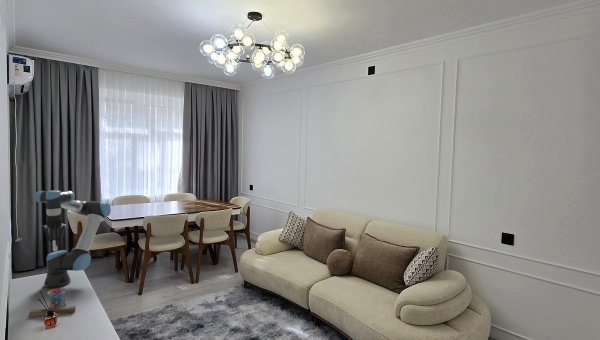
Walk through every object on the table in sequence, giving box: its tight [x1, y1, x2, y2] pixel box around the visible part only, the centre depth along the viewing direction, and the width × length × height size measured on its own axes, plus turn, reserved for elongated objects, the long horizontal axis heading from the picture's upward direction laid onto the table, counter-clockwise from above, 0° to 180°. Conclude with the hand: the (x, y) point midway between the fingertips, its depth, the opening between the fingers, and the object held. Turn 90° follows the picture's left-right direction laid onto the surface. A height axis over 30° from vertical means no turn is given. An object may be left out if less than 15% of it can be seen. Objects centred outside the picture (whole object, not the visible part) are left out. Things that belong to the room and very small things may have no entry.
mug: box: [47, 287, 72, 308], centre depth 199 cm, size 12×9×11 cm
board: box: [28, 305, 77, 318], centre depth 191 cm, size 3×22×3 cm, turn 106°
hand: (55, 250), depth 212 cm, fingers closed
